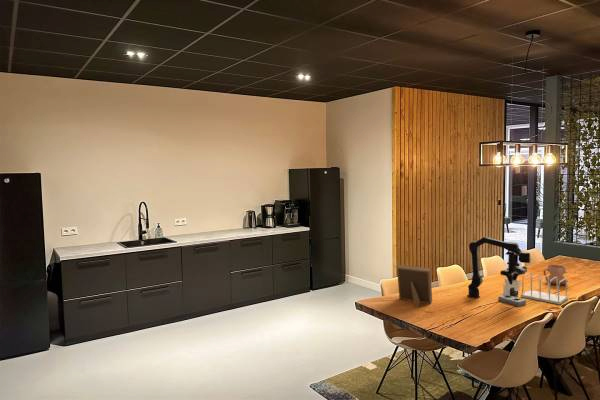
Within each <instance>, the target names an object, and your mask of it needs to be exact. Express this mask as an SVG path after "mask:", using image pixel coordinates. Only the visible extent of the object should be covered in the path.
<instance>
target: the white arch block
mask: <svg viewBox="0 0 600 400" xmlns="http://www.w3.org/2000/svg"><path fill="white" fill-rule="evenodd" d="M504 283H505V284H504V285H505V288H507V289H509V288H510V283H509V281H508V279H507V277H505V278H504ZM521 283H522V281H521V280H517V279H516V280H513V281H512V285H515V290H514V291H518V292H519V291H520V289H521V286H522V285H521Z"/></svg>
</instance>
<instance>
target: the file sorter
mask: <svg viewBox="0 0 600 400" xmlns="http://www.w3.org/2000/svg"><path fill="white" fill-rule="evenodd" d="M529 274H530V289H529V290H527V291H525V292H524V279H525V276H528V275H529ZM549 276H550V275H548V274H547V275H546V276H543V277H541V274H539V273H538V274H536V275H532V272H527V273H525V274H523V276H522V281H521V283H522V285H521V286H522V289H521V290H522V291H521V293H522V294H520V297H521V298H525V299H530V300H536V301H539V302H544V303H545V302H546V303H551V304H556V305H561V304H563V303H565V302H566V301H568V300H569V296H568V295H567V294H568V293H567V292H568V282H567V280H568V279H567V278H566V277H565V279H566V284H565V295H560V286H561V285H560V282H562V281H564V280H565V279H563V280H561V281H560V282H559V285H558V278H557V277H554V278H553V279H555V278H556V279H557V285H556V293H557V294H554V293H551V285H552V284H551V281H552V280H553V279H551V280H550V283H549ZM536 277H539V279H538V281H539V282H538V290H533V279H534V278H536ZM545 277H548V282H547V292H543V291H542V290H541V288H542V287H541V286H542V280H543V279H546V278H545Z"/></svg>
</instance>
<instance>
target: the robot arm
mask: <svg viewBox="0 0 600 400" xmlns="http://www.w3.org/2000/svg"><path fill="white" fill-rule="evenodd" d="M484 244H488V245H492V246H495V247H500V248H502V249H505V250H507V252H505V255H506V256H507V255H508V259H507V260H508V262H506V265H507V266H508V267H507V268H506V269H502V270H501V271H500V273H499V274H500V275H501V276H506V277H505V278H507V279H508V281H509V283H510V284H511V285H512V281H513V280H517V278H518V277H519V276H522V275H525V274H526V272H527V273H528V267H527V266H520V265H521V264H520V263H523V264H524V263H525V264H531V252H523V251H522V250H521V249H520V246H519V244H518V243H517V242H513V241H512V242H511V241H503V240H499V239H495V238H491V237H488V236H484V237H482V238H480V239H478V240H473V241H471V242H470V243H469V244H468V248H469V251H470V253H471V261H472V262H471V263H472V264H471V265H472V277H471V283H470V284H469V285H468V286H467V288H468V294H467V295H466V296H467V297H468V298H472V299H476V298H480V297H481V296H480V289H479V287H481V285H482V284H483V282H484V281H483V275H480V274H481V273H480V264H479V263H480V261H479V253H480V247H481V246H482V245H484ZM519 262H520V263H519Z"/></svg>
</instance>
